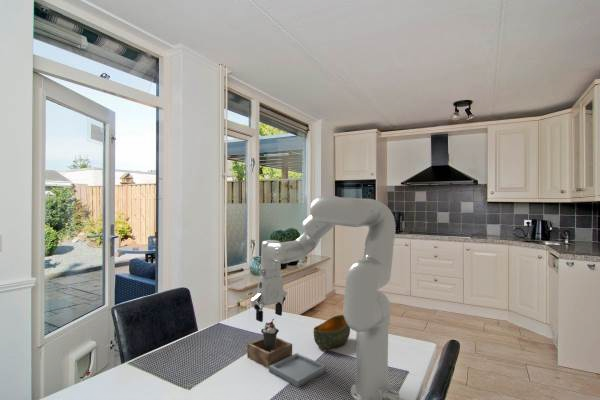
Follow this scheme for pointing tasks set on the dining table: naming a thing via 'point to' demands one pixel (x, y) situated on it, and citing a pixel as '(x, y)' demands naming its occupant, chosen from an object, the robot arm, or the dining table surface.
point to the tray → (297, 369)
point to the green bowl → (332, 333)
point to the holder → (261, 356)
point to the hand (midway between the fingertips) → (269, 317)
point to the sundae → (269, 335)
